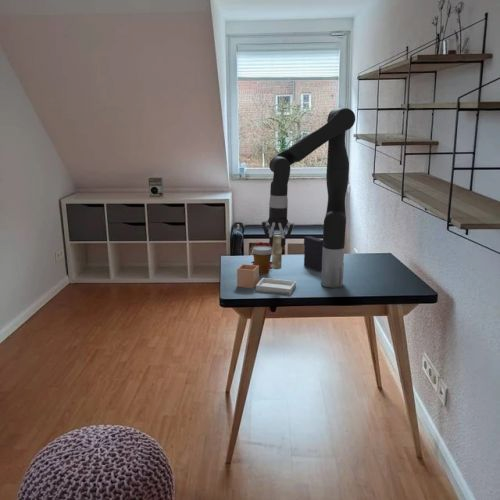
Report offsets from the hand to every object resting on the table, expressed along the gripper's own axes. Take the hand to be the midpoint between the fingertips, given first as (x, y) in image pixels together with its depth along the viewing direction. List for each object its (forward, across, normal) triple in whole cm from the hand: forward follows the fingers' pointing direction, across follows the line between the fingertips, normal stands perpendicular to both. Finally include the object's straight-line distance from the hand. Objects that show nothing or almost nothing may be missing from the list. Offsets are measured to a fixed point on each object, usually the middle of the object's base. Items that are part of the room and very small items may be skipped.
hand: (277, 245), depth 212 cm
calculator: (+19, -10, -35) cm, 41 cm away
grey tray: (+19, 0, 0) cm, 19 cm away
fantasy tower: (+19, +15, -31) cm, 39 cm away
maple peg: (+10, 0, 0) cm, 10 cm away
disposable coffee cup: (+19, +12, -20) cm, 30 cm away
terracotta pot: (+19, +13, -1) cm, 23 cm away
